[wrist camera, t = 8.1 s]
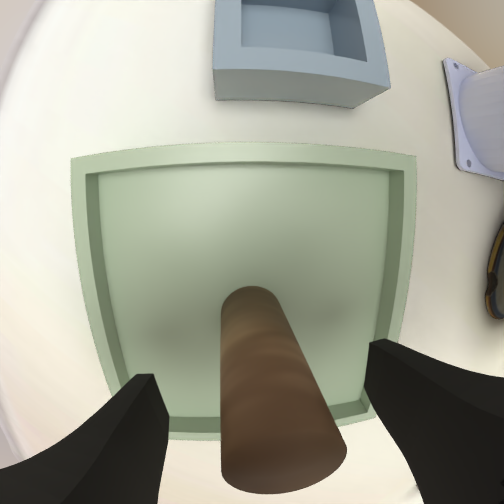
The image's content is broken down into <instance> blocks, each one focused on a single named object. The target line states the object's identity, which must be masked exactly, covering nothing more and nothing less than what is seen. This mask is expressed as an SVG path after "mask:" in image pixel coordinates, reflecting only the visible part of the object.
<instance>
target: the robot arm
mask: <svg viewBox="0 0 504 504" xmlns="http://www.w3.org/2000/svg"><path fill="white" fill-rule="evenodd" d="M443 62H444V67H445V72H446V77H447V82H448V88H449V93H450V100H451V107H452V114H453V123H454V133H455V147H456V163H457V166H458V168H459V169H460V170H464V171H468V172H472V173H476V174H480V175H484V176H488V177H492V178H496V179H499V180H503V181H504V66H501V67H497V68H494V69H490V70H487V71H484V72H480V73H477V72H475V71H473V70H471V69H470V68H468V67H466V66H464V65H462V64H460V63H458V62H456V61H454V60H452V59H450V58H446V59H444V61H443ZM364 389H365V391H366V394H367V396H368V398H369V400H370V402H371V404H372V407H373V409H374V410H375V412H376V413H377V415H378V417H379V418H380V420H381V421H382V423H383V424H384V426H385V427H386V429H387V430H388V432H389V433H390V435H391V437H392V438H393V440H394V441H395V443H396V444H397V446H398V447H399V449H400V450H401V452H402V454H403V455H404V457H405V459H406V461H407V463H408V465H409V467H410V470H411V472H412V474H413V476H414V478H415V481H416V483H417V486H418V488H419V491H420V494H421V496H422V499H423V502H424V504H504V378H503V377H496V376H490V375H485V374H481V373H476V372H472V371H468V370H465V369H462V368H459V367H456V366H453V365H450V364H447V363H444V362H441V361H439V360H436V359H434V358H431V357H429V356H426V355H424V354H422V353H419V352H417V351H415V350H412V349H410V348H408V347H405V346H403V345H401V344H398V343H396V342H394V341H391V340H388V339H385V338H383V339H380V340H376V341H372V342H369V350H368V358H367V366H366V374H365V381H364ZM169 419H170V416H169V413H168V411H167V408H166V406H165V403H164V401H163V398H162V395H161V393H160V390H159V387H158V385H157V382H156V379H155V376H154V373H147V374H136V375H135V376H134V377H132V378H131V379H130V380H129V381H128V382H127V383H126V384H125V385H124V386H123V387H122V388H121V389H120V390H119V391H118V392H117V393H116V394H115V395H114V396H113V397H112V398H111V399H110V400H109V401H108V402H107V403H106V404H105V405H104V406H103V407H101V408H100V409H99V410H98V411H97V412H96V413H95V414H94V415H93V416H91V417H90V418H89V419H88V420H87V421H86V422H84V423H83V424H82V425H81V426H80V427H79V428H77V429H76V430H75V431H73V432H72V433H71V434H69V435H68V436H67V437H65V438H64V439H62V440H61V441H59V442H58V443H56V444H55V445H53V446H51V447H50V448H48V449H46V450H44V451H42V452H40V453H38V454H37V455H35V456H33V457H31V458H29V459H27V460H24V461H22V462H19V463H17V464H15V465H12V466H9V467H6V468H3V469H0V504H157V502H158V493H159V487H160V482H161V476H162V471H163V466H164V461H165V455H166V450H167V445H168V437H169Z"/></svg>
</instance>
